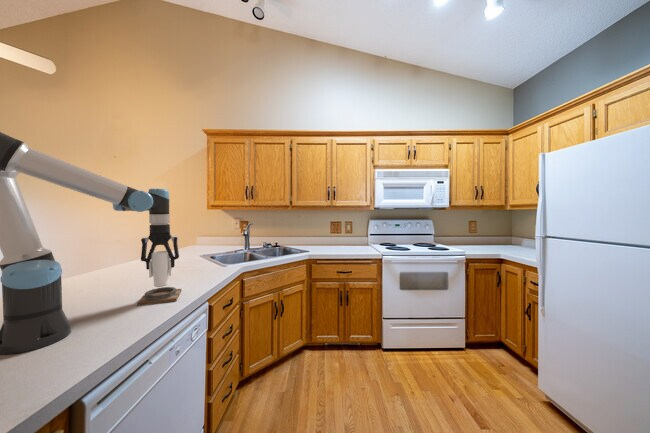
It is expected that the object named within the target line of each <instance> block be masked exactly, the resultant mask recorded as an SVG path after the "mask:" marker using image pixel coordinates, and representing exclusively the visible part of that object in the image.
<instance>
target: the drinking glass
mask: <svg viewBox="0 0 650 433" xmlns="http://www.w3.org/2000/svg"><path fill="white" fill-rule="evenodd" d="M170 260H171V259H170V257H169V255H168V252H167V251H166V250H158V251H154V253H152V255H151V262H152V270H153V276H152V277H153V286H154V287H155V288H162V287H167V285H169V261H170Z"/></svg>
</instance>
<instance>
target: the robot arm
mask: <svg viewBox="0 0 650 433" xmlns="http://www.w3.org/2000/svg"><path fill="white" fill-rule="evenodd" d="M20 173H21V174H24V175H26V176H29V177H33V178H37V179H38V180H42V181H45V182H48V183H50V184H54V185H57V186H60V187H63V188H64V189H69V190H72V191H74V192H78V193H81V194H83V195H86V196H89V197H92V198H96V199H97V200H98V199H99V200H102V201H105V202H108V203H111V204H112V209H113V210H114V211H117V212H137V213H142V212H146V211H148V215H149V216H148V218H149V219H148V220H149V221H148V222H149V224H150V225H149V235H148V236H147V237H142V238H141V239H140V241H141V245H142V246H141V252H140V254H141V255H140V256H141V257H140V261H141V262H145V267H146V270H148V273H149V278H152V277H153V270H152V262H151V255H152V253H154V252H155V250H156V248H157V246H164V248H165V251H167V252H168V255H169V257H170V261H169V276H172V275H173V268H175V260H177V259H179V258H180V254H179V247H178V240H179V237H178V236H172V235H171V225H170V224H169V223H170V221H171V220H170V219H171V218H170V215H171V214H170V192H169V190H167V189H165V188H149V189H148V192H147V191H144V190H139V189H136V188H133V187H130V186H128V185H126V184H123V183H121V182H118V181H115V180H113V179H110V178H107V177H105V176H102V175H100V174H97V173H95V172H92V171H89V170H88V169H87V170H86V169H84V168H81V167H79V166H77V165H74V164H71V163H69V162H66V161H64V160H62V159H61V160H60V159H59V158H56V157H53V156H52V155H49V154H45V153H44V152H40V151H38V150H35V149H33V148H31V147H29V145H28V144H27V142H25V141H22V140H20V139H18V138H14V137H13V136H10V135H8V134H6V133H3V132H1V131H0V251H1V254H2V256H3V257H2V258H1V260H0V271H1V277H0V283H1V293H2V315H3V316H2V318H3V321H2V324H1V326H0V355H12V354H14V355H15V354H19V353H26V352H30V351H33V350H37V349H40V348H44V347H47V346H49V345H52V344H54V343H57V342H59V341H62V340H63V339H65V338H66V337H68V336H69V335H70V334H71V332H72V328H71V326H72V325H71V323H70V320H69V319H68V317H67V316H66V313H65V312H64V310H63V292H62V291H63V286H62V285H63V284H62V274H63V269H62V266H61V263H60V262H58V261H56V259H55V256H54V255H53V254H54V253H53V252H52V250H51V249H47V248H45V247H44V246H43V244H42V242H41V239H40V237H39V234H38V230H37V229H36V227H35V224H34V222H33V219H32V216H31V213H30V211H29V209H28V206H27V203H26V201H25V198H24V196H23V193H22V191H21V188H20V186H19V183H18V181H17V178H16V177H17V176H18V175H19V174H20ZM170 240H171V242H172V244H173V252H174V253H173V252H172V249H171V246H170V244H169V241H170ZM149 241H150V242H151V243H152V244H151V246H150V249H149V252H148V253H147V249H148V242H149ZM147 254H148V255H147ZM169 276H168V277H169Z"/></svg>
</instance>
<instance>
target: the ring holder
mask: <svg viewBox="0 0 650 433" xmlns="http://www.w3.org/2000/svg"><path fill="white" fill-rule="evenodd" d="M181 293H182V288H176V287H173V286H163V287H155V288H152V289H150V290H146V292H145V293H144V295H143V296H142V297H141V298H140V299H139V300H138V301H137V303H136V305H137V306H138V307H139V306H145V305H146V306H147V305H155V304H164V303H165V304H166V303H173V302H177V301H178V300H179V299H178V298H179V297H180V295H181Z"/></svg>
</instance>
